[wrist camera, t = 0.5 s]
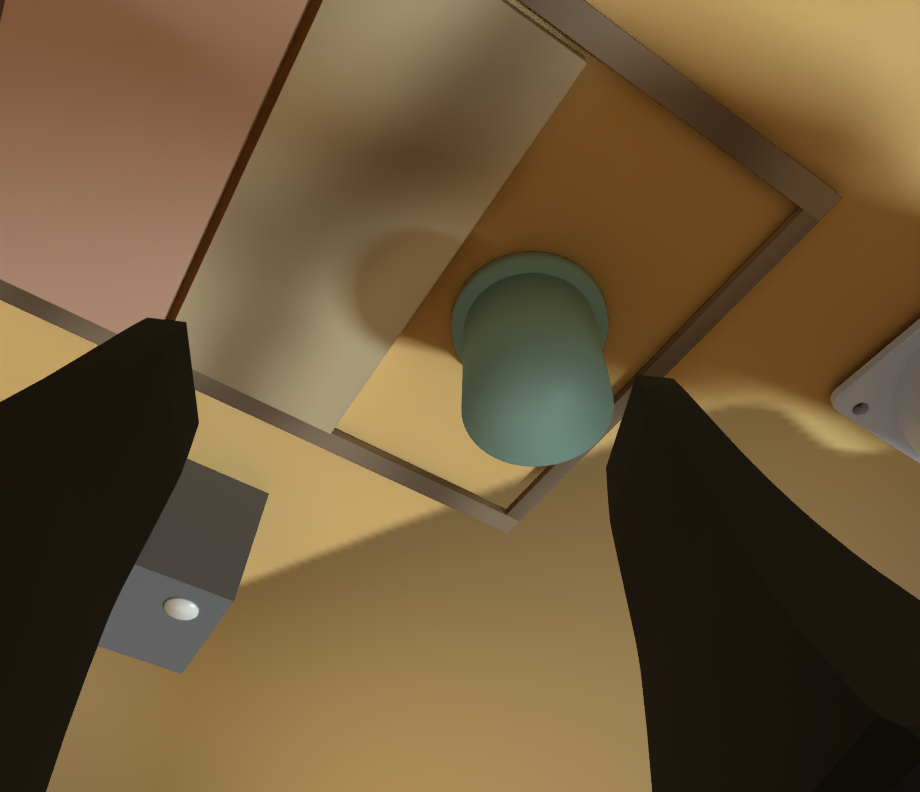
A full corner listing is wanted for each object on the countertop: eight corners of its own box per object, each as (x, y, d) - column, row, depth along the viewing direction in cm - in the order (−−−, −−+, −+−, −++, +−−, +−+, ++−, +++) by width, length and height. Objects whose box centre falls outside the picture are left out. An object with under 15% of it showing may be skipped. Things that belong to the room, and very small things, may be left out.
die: (269, 492, 28) (233, 603, 24) (220, 564, 30) (181, 675, 26) (139, 436, 26) (77, 545, 22) (100, 517, 29) (38, 628, 25)
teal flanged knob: (638, 301, 22) (668, 389, 19) (544, 404, 25) (555, 499, 21) (508, 221, 21) (514, 300, 17) (423, 339, 23) (413, 430, 20)
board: (838, 193, 20) (846, 202, 20) (507, 527, 28) (507, 539, 28) (65, -396, 14) (50, -404, 13) (-71, 259, 22) (-84, 269, 22)
